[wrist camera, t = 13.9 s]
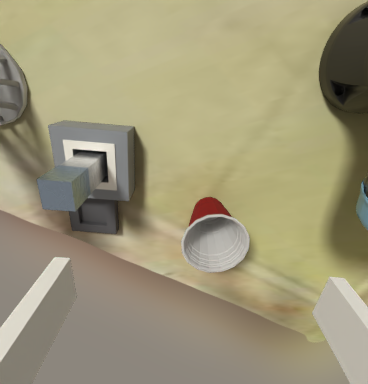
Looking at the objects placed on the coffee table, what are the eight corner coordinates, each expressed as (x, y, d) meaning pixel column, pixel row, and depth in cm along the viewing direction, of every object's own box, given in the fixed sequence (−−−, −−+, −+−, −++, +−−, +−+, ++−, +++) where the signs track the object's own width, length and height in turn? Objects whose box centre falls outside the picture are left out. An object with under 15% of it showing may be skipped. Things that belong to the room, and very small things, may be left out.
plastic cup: (246, 200, 45) (265, 237, 34) (216, 238, 49) (224, 282, 39) (200, 174, 43) (205, 204, 32) (172, 216, 47) (168, 255, 36)
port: (64, 120, 39) (46, 125, 34) (134, 126, 39) (126, 132, 35) (73, 184, 44) (59, 196, 39) (134, 189, 45) (128, 202, 40)
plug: (87, 146, 40) (36, 179, 26) (110, 148, 40) (71, 182, 27) (89, 168, 42) (42, 209, 28) (111, 170, 42) (75, 211, 28)
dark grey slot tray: (70, 186, 44) (65, 190, 43) (117, 190, 45) (114, 194, 43) (76, 225, 48) (71, 230, 47) (118, 228, 49) (116, 233, 47)
